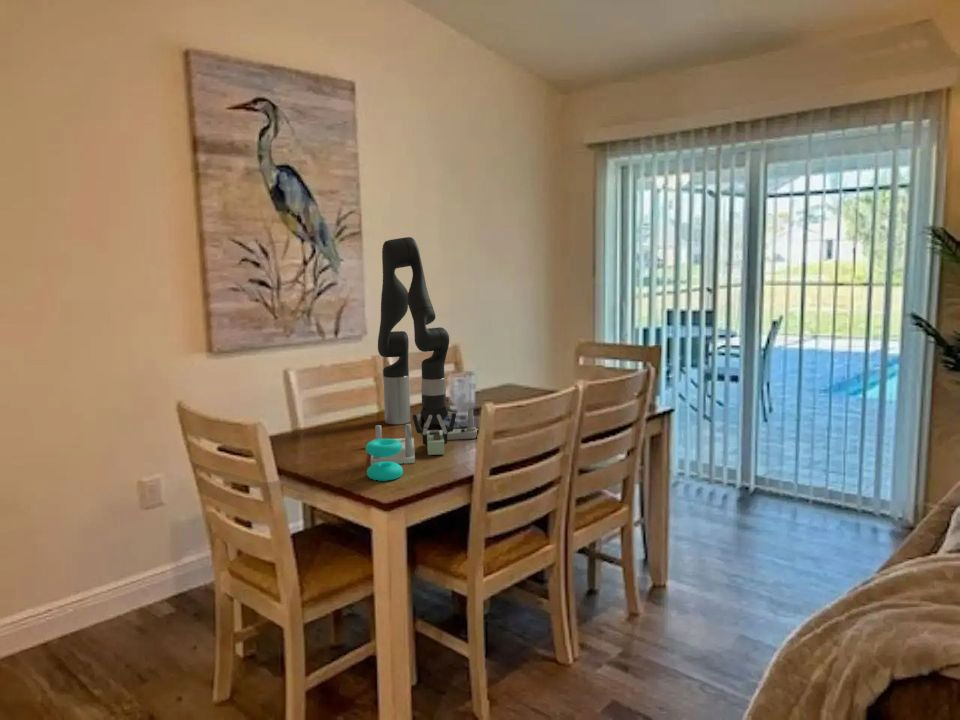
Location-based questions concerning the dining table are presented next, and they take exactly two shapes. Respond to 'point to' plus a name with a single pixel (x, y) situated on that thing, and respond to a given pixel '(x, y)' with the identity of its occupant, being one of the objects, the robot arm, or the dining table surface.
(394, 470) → the donuts
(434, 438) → the pale green block
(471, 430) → the electronic device
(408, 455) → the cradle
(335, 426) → the dining table surface
